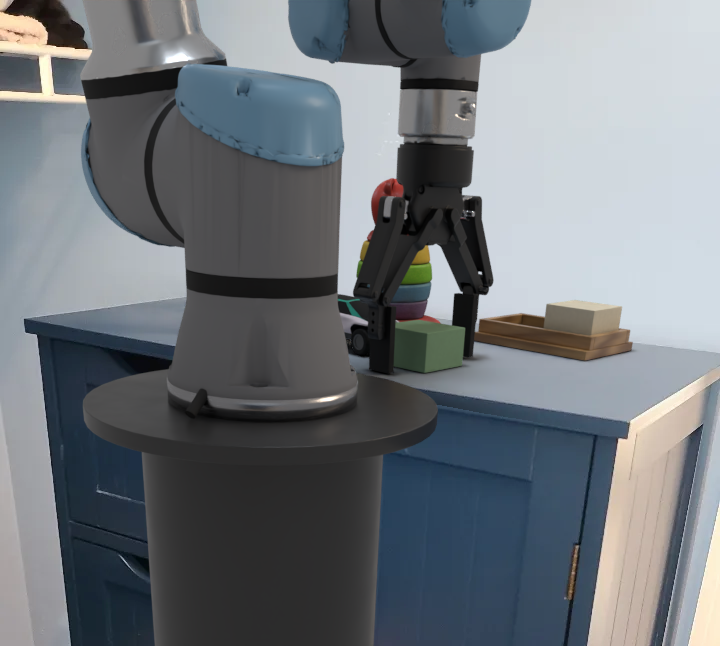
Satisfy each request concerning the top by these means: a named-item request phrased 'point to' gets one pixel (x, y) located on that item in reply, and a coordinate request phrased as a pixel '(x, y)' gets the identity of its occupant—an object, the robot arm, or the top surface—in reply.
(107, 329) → the top surface
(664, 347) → the top surface
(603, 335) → the frame
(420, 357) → the sage block
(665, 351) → the top surface
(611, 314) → the beige block
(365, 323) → the toy car
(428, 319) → the stacking bear
